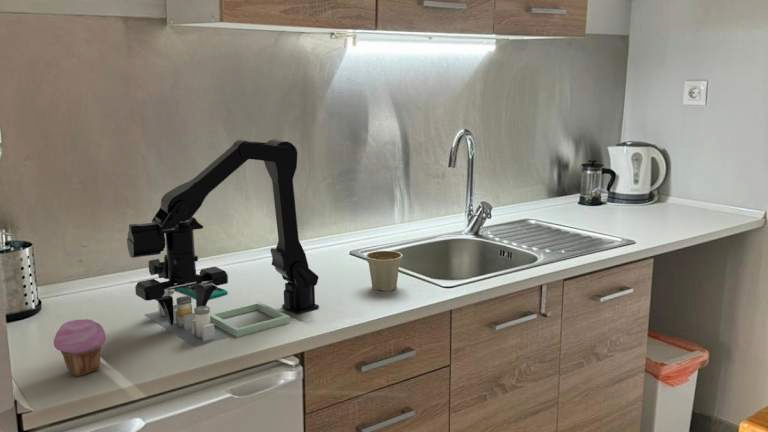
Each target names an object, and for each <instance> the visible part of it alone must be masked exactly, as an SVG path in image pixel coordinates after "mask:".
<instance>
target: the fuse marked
mask: <svg viewBox="0 0 768 432" xmlns="http://www.w3.org/2000/svg"><path fill="white" fill-rule="evenodd" d="M175 299H176V300H175V303H177V316H178V327H181V328H184V318H183V315H187V314H191V313H193V305H192V296H190V295H187V296H184V295H183V296H178V297H177V298H175Z"/></svg>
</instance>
